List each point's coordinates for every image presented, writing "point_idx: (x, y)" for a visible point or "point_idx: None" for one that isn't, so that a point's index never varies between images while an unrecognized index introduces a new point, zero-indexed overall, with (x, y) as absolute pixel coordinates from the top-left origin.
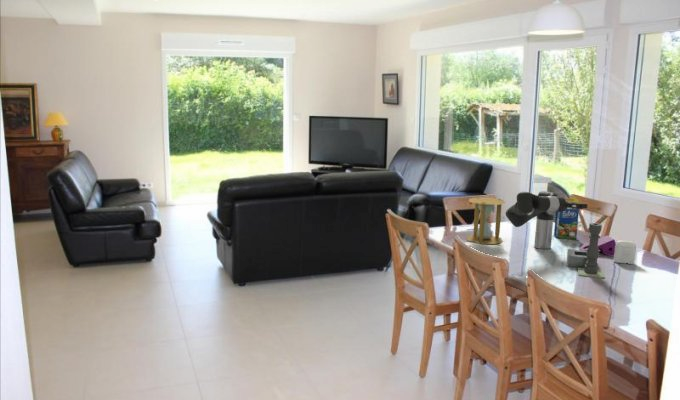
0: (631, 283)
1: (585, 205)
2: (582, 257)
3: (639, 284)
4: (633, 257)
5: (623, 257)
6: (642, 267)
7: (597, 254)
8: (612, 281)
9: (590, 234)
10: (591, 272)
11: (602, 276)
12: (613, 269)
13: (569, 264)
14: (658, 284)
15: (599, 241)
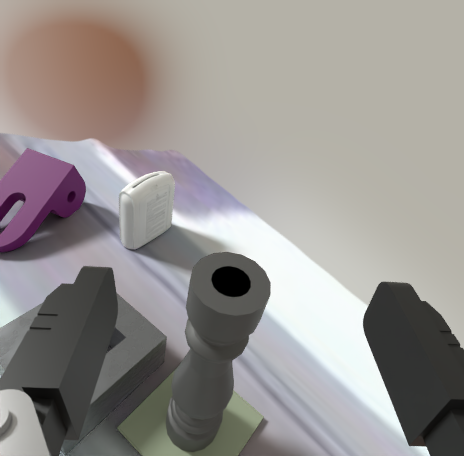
0: (324, 368)
1: (448, 342)
2: (118, 381)
3: (335, 352)
4: (171, 213)
5: (152, 227)
6: (199, 229)
7: (233, 379)
8: (299, 418)
9: (202, 341)
10: (214, 437)
11: (253, 418)
12: (184, 304)
13: (72, 443)
14: (336, 304)
15: (25, 184)
